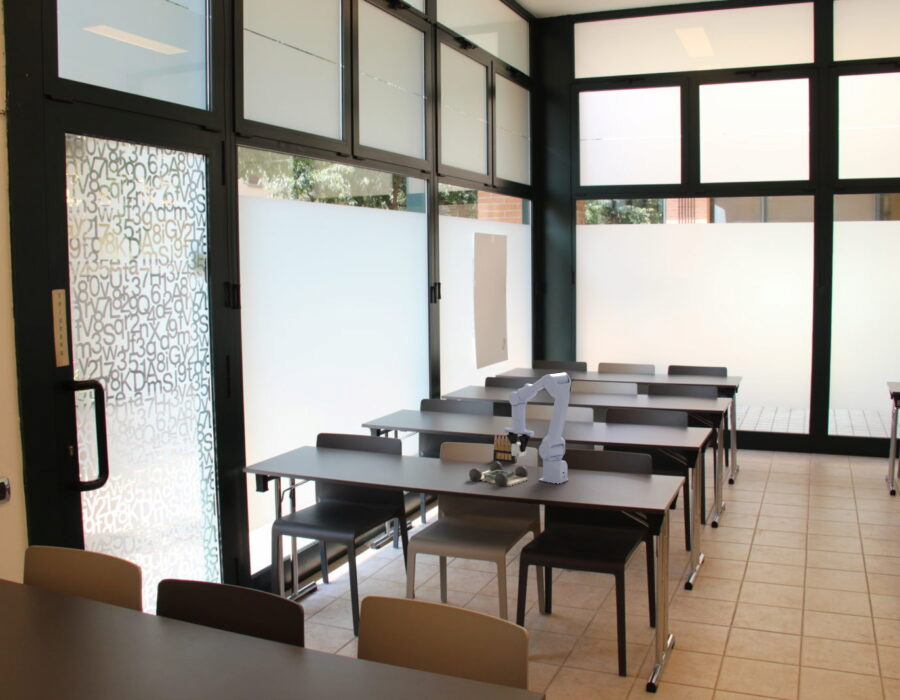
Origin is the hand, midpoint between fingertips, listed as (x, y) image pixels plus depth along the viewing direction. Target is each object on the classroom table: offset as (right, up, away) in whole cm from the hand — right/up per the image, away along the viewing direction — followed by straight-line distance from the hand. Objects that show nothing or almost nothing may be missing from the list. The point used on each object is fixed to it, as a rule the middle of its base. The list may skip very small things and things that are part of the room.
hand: (518, 451), depth 360 cm
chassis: (-9, -10, -13) cm, 19 cm away
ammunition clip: (-5, -7, +17) cm, 19 cm away
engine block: (0, -2, 0) cm, 2 cm away
